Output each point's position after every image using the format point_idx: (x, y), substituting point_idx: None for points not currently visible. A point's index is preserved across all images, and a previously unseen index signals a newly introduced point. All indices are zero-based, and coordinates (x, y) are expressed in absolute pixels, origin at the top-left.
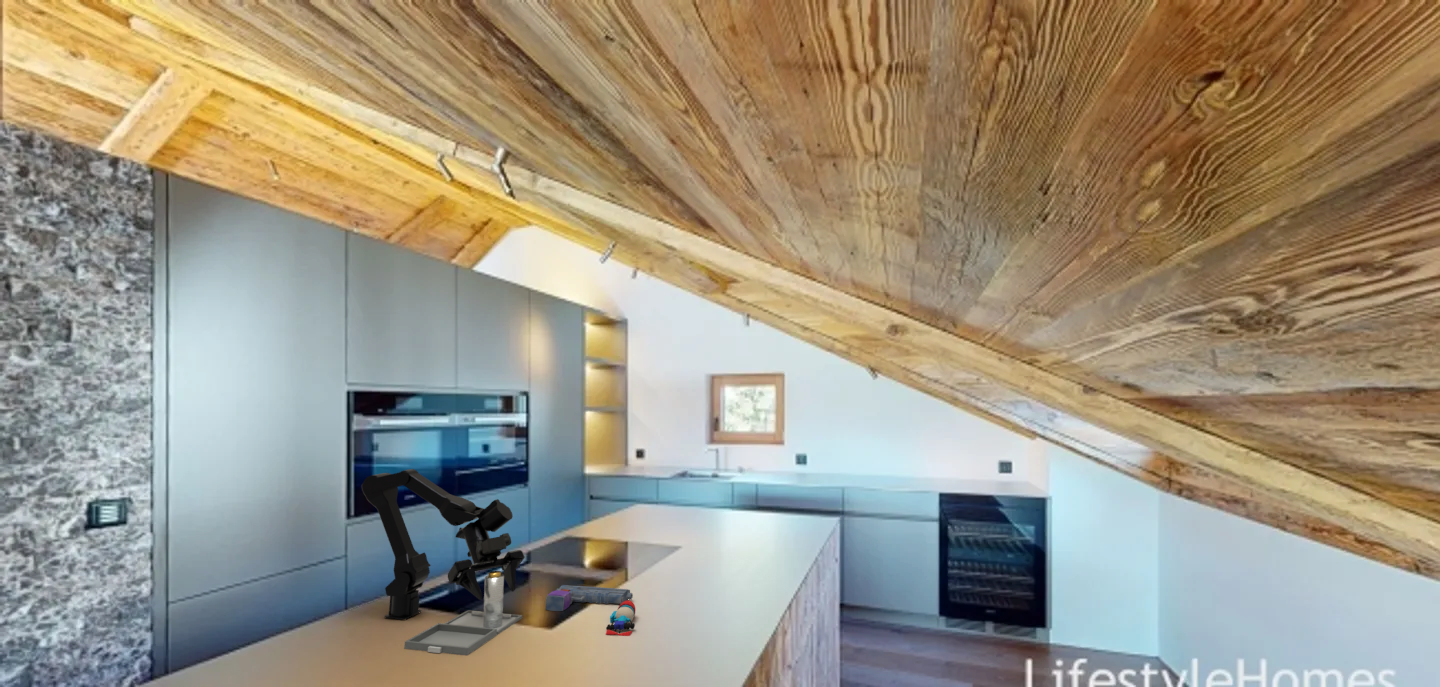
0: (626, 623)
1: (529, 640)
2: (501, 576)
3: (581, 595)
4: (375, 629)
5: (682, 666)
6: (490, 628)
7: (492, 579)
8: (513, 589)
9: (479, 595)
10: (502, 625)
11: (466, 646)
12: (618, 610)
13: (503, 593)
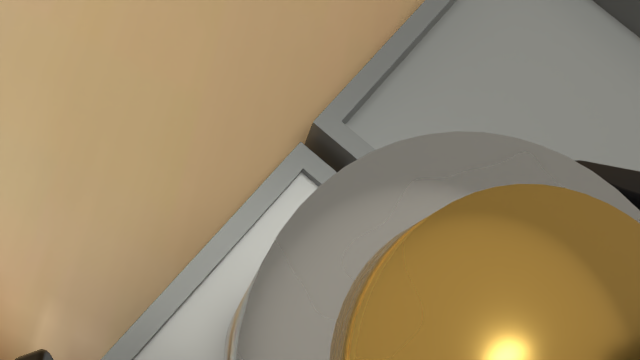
0: None
1: (95, 27)
2: (324, 271)
3: None
4: None
5: None
6: (360, 151)
7: (547, 158)
8: (49, 358)
9: (610, 170)
10: (229, 314)
11: (511, 42)
12: None
13: (231, 331)
